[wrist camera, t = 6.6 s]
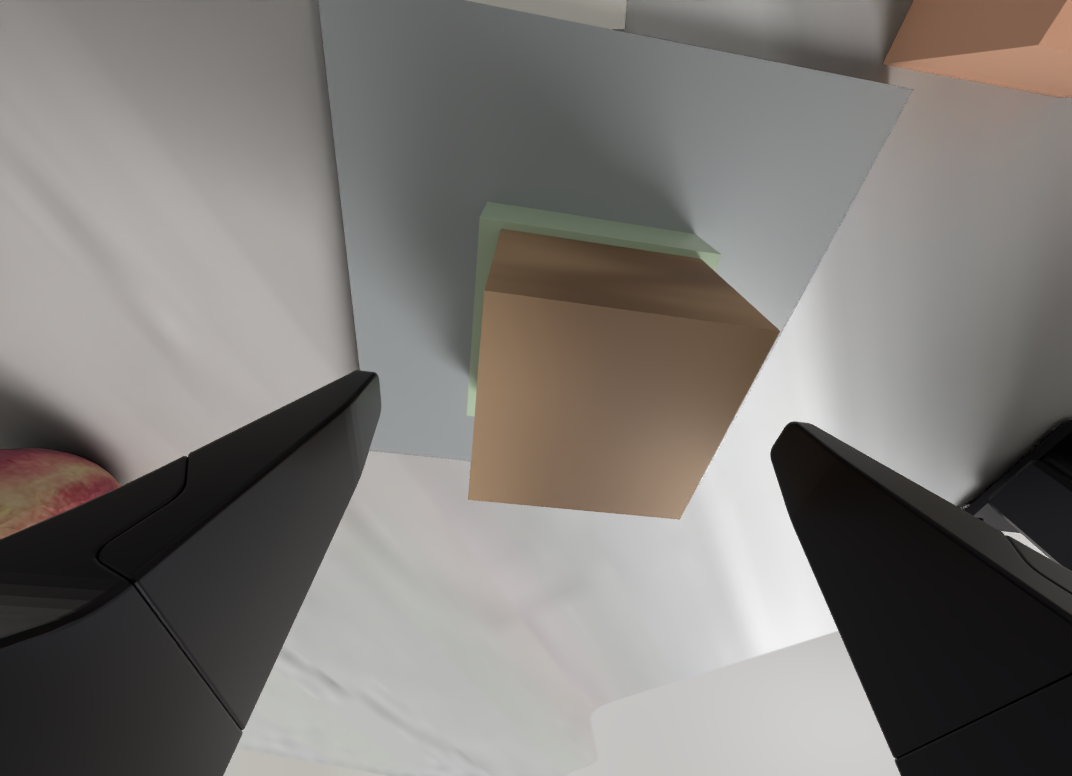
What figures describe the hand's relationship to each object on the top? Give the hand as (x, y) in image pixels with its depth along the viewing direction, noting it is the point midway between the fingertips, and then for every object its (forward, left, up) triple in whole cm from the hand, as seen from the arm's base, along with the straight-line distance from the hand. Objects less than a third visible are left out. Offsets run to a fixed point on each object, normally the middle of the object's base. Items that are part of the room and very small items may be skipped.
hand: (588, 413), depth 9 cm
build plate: (0, 0, -6) cm, 6 cm away
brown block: (0, 0, -3) cm, 3 cm away
